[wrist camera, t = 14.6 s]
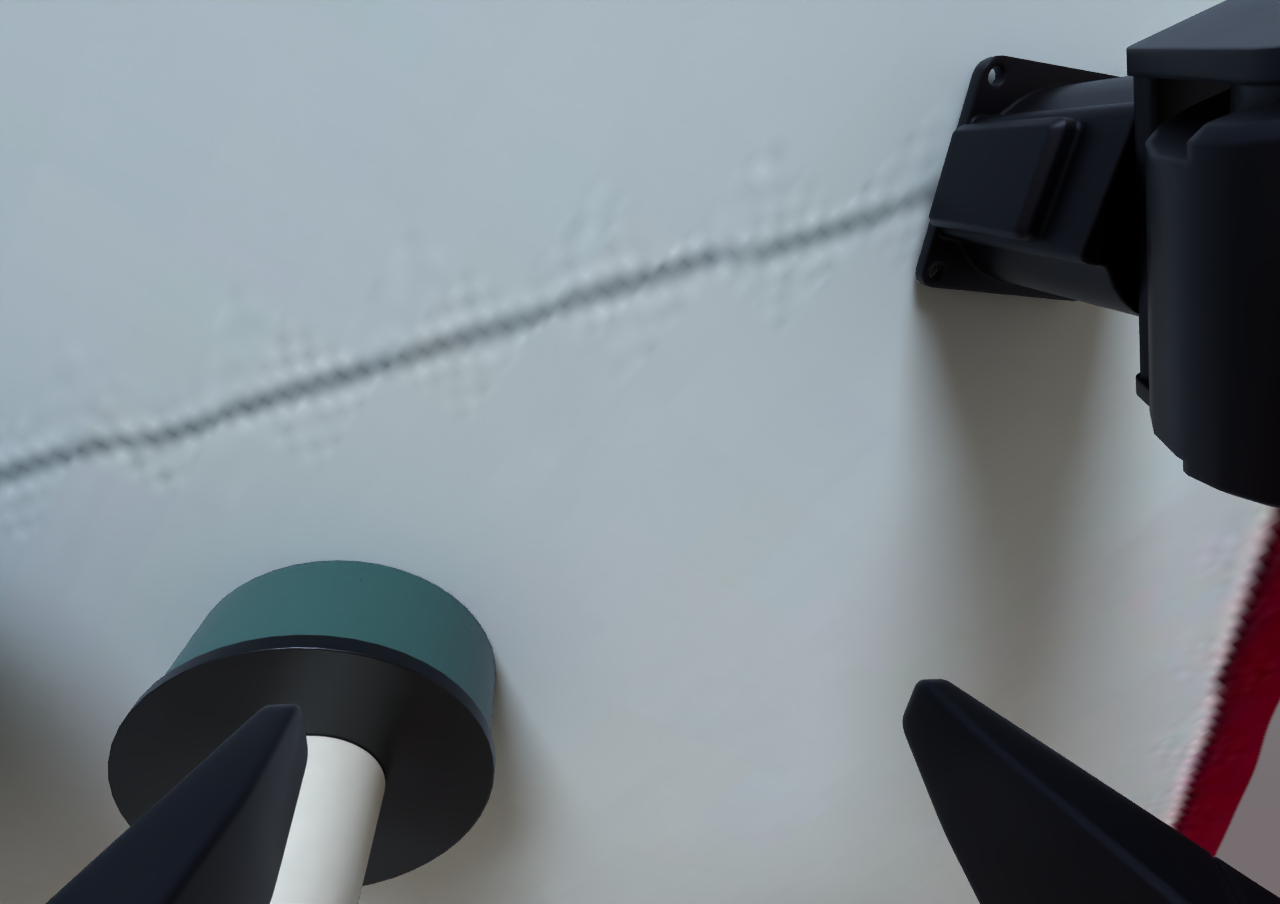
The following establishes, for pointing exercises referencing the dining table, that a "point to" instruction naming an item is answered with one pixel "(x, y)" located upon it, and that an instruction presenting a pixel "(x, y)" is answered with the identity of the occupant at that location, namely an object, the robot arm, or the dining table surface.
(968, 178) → the robot arm
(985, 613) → the dining table surface
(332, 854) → the bottle
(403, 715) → the enamel tin
